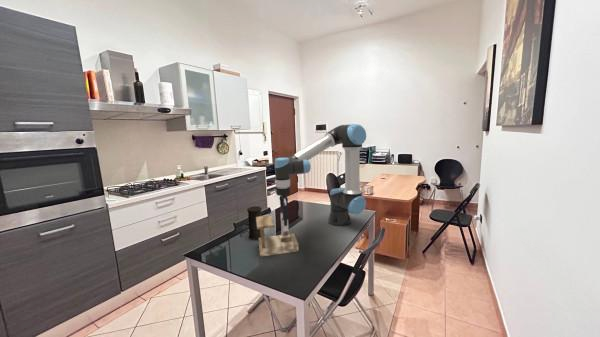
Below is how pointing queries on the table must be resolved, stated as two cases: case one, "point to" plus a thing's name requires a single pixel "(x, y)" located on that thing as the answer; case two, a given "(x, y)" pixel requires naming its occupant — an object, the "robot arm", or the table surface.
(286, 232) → the peg
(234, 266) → the table surface
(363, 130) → the robot arm
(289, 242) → the socket station
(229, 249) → the table surface
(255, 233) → the container
